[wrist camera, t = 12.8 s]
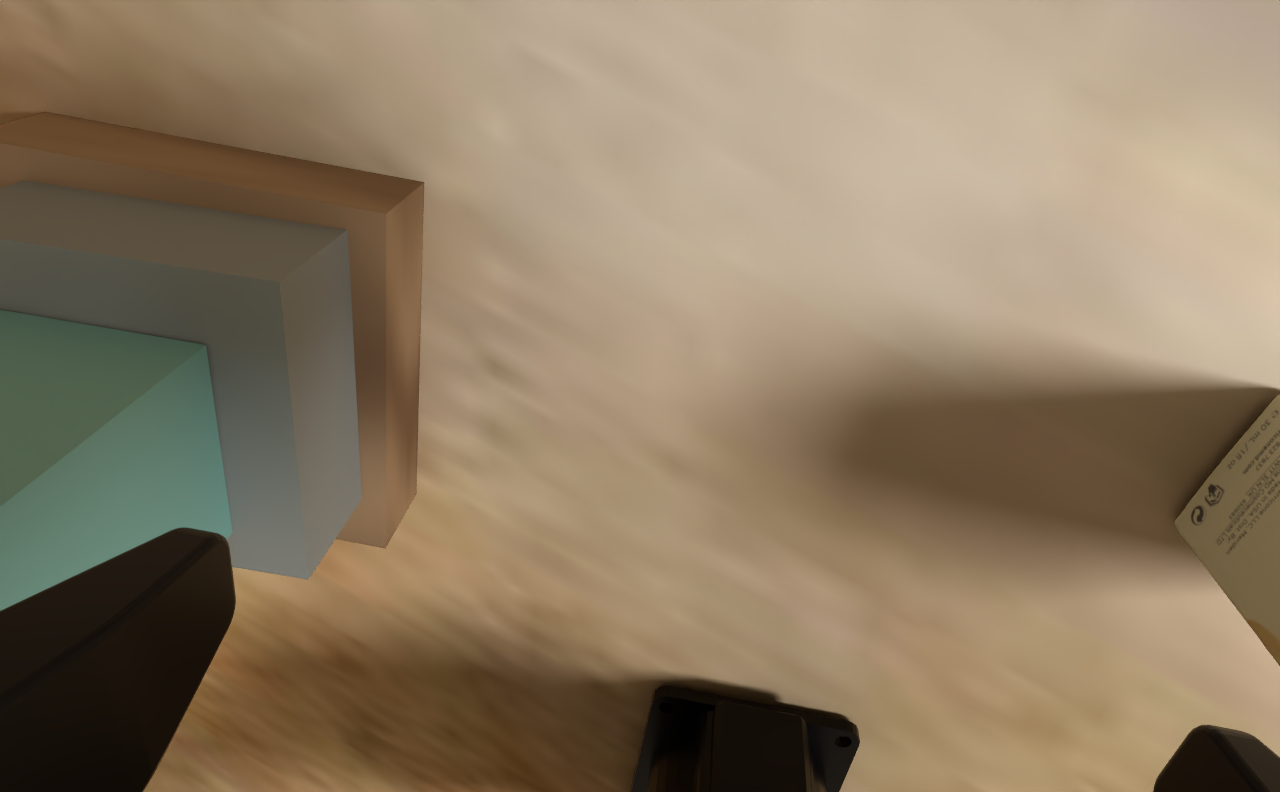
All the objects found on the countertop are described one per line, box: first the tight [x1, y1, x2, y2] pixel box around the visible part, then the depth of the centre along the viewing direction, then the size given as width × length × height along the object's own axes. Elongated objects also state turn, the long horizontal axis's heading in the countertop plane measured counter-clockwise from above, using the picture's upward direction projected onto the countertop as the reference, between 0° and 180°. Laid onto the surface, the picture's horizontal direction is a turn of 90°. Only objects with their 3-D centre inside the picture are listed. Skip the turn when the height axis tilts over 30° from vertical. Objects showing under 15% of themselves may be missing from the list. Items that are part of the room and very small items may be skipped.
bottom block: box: [0, 112, 424, 548], centre depth 21 cm, size 9×9×3 cm
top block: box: [0, 180, 362, 579], centre depth 18 cm, size 7×7×3 cm
